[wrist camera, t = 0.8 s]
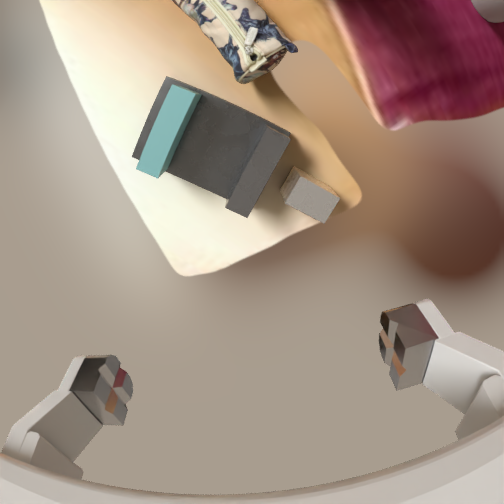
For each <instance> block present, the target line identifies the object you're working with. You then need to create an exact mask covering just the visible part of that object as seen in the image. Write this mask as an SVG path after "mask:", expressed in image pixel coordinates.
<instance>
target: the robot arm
mask: <svg viewBox="0 0 504 504" xmlns="http://www.w3.org/2000/svg"><path fill="white" fill-rule="evenodd" d="M380 323H381V325H382V326H383V329H382V331H381V332H380V333H379V346H380V352H381V355H382V358H383V360H384V363H386V364H387V365H389V366H391V367H390V377H391V379H392V381H393V384H394V386H395V388H396V390H400V389H404V388H407V387H411V386H414V385H417V384H420V383H423V385H425V386H426V387H427V388H429V389H430V390H431V391H433V392H434V393H436V394H437V395H438V396H440V397H441V398H442V399H444V400H445V401H447V402H448V403H449V404H451V405H452V406H454V407H455V408H456V409H458V410H459V411H461V412H462V413H464V414H465V415H464V417H463V419H462V420H461V422H460V424H459V425H458V427H457V429H456V431H455V432H456V435H457V437H458V441H456V442H454V443H451V444H449V445H447V446H445V447H442V448H440V449H438V450H435V451H433V452H430V453H428V454H425V455H423V456H421V457H418V458H415V459H412V460H410V461H407V462H404V463H401V464H398V465H395V466H392V467H389V468H386V469H383V470H379V471H376V472H372V473H369V474H365V475H361V476H357V477H353V478H349V479H345V480H341V481H336V482H331V483H326V484H321V485H316V486H310V487H304V488H297V489H290V490H282V491H273V492H263V493H250V494H228V495H196V494H174V493H162V492H151V491H143V490H134V489H128V488H121V487H115V486H109V485H104V484H100V483H94V482H90V481H85V480H81V479H82V476H83V470H82V469H81V468H80V467H79V466H77V465H76V464H75V463H73V462H74V460H75V459H76V458H77V457H78V456H79V454H80V453H81V452H82V451H83V450H84V448H85V447H86V446H87V445H88V444H89V442H90V441H91V440H92V439H93V437H94V436H95V435H96V434H97V433H98V431H99V430H100V429H101V428H102V426H103V425H121V426H123V425H124V421H125V418H126V414H127V411H128V409H127V407H126V403H127V402H128V401H129V400H130V399H131V397H132V393H133V384H132V381H131V378H130V376H129V375H128V373H127V372H126V371H124V370H123V369H121V368H120V361H119V360H118V359H117V357H116V356H114V355H88V356H76V357H75V358H74V359H73V361H72V362H71V364H70V366H69V368H68V370H67V372H66V375H65V376H64V378H63V380H62V382H61V384H60V386H59V389H58V391H57V390H55V391H53V392H52V393H51V394H50V395H48V396H47V397H46V398H45V399H44V400H42V401H41V402H40V403H39V404H38V405H37V406H35V407H34V408H33V409H32V410H31V411H29V412H28V413H27V414H26V415H25V416H23V417H22V418H21V419H20V420H19V421H18V422H16V423H15V424H14V425H13V426H12V429H11V431H10V433H9V435H8V438H7V440H6V442H5V445H4V447H3V450H2V452H1V453H0V504H504V351H502V350H499V349H497V348H495V347H493V346H491V345H488V344H486V343H484V342H481V341H479V340H477V339H475V338H473V337H470V336H468V335H466V334H464V333H462V332H456V333H455V332H454V331H453V329H452V328H451V326H450V325H449V324H448V322H447V321H446V320H445V318H444V317H443V316H442V314H441V313H440V312H439V310H438V309H437V308H436V306H435V305H434V304H433V302H432V301H431V300H430V299H424V300H421V301H417V302H414V303H412V304H408V305H405V306H401V307H397V308H394V309H390V310H386V311H383V312H382V314H381V319H380Z"/></svg>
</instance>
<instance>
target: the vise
mask: <svg viewBox="0 0 504 504" xmlns="http://www.w3.org/2000/svg"><path fill="white" fill-rule="evenodd" d="M172 84H173V85H178V86H182V87H185V88H187V89H189V90H192V91H194V92H197V93H199V94H201V95H202V96H201V97H200V99H199V101H198V103H197V106H196V108H195V110H194V112H193V114H192V116H191V118H190V120H189V122H188V124H187V126H186V128H185V131H184V133H183V135H182V137H181V139H180V141H179V144H178V146H177V148H176V150H175V153H174V155H173V157H172V160H171V162H170V164H169V167H168V169H167V170H166V172H168V173H171V174H173V175H175V176H177V177H180V178H182V179H184V180H186V181H189V182H191V183H193V184H195V185H197V186H200V187H202V188H204V189H206V190H209V191H211V192H213V193H215V194H217V195H219V196H222V197H224V198H226V199H227V201H226V206H225V208H227V209H229V210H231V211H233V212H236V213H238V214H240V215H242V216H244V217H246V218H248V216H249V214H250V212H251V210H252V209H253V207H254V205H255V203H256V201H257V199H258V198H259V196H260V194H261V192H262V190H263V189H264V187H265V185H266V183H267V181H268V180H269V178H270V176H271V174H272V172H273V171H274V169H275V167H276V165H277V163H278V162H279V160H280V158H281V156H282V154H283V153H284V151H285V149H286V147H287V146H288V144H289V142H290V140H291V139H290V138H289V135H290V134H291V133H290V132H288V131H287V130H285V129H283V128H281V127H279V126H277V125H275V124H273V123H271V122H269V121H267V120H265V119H263V118H261V117H259V116H257V115H255V114H253V113H251V112H249V111H247V110H245V109H243V108H241V107H239V106H237V105H234V104H232V103H230V102H228V101H226V100H223V99H221V98H219V97H217V96H214V95H212V94H210V93H208V92H205V91H203V90H200V89H198V88H196V87H193V86H191V85H188V84H186V83H183V82H181V81H178V80H176V79H173V78H170V77H167V76H166V78H165V80H164V82H163V84H162V87H161V89H160V91H159V93H158V95H157V97H156V99H155V102H154V104H153V106H152V108H151V111H150V113H149V115H148V118H147V120H146V122H145V125H144V127H143V130H142V132H141V135H140V137H139V140H138V142H137V145H136V147H135V150H134V152H133V155H132V157H134V158H136V159H138V160H140V157H141V155H142V152H143V149H144V147H145V144H146V142H147V139H148V137H149V135H150V132H151V130H152V127H153V125H154V123H155V120H156V118H157V116H158V114H159V111H160V109H161V107H162V105H163V103H164V100H165V98H166V96H167V94H168V92H169V90H170V88H171V86H172Z"/></svg>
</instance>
